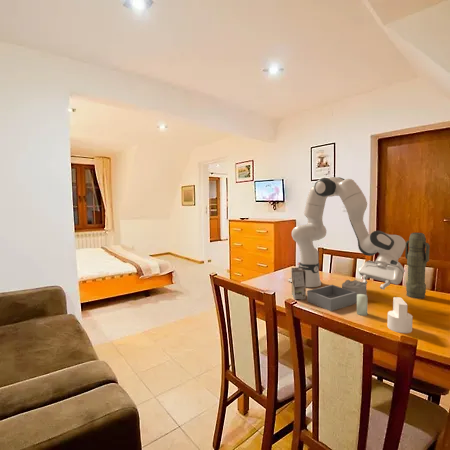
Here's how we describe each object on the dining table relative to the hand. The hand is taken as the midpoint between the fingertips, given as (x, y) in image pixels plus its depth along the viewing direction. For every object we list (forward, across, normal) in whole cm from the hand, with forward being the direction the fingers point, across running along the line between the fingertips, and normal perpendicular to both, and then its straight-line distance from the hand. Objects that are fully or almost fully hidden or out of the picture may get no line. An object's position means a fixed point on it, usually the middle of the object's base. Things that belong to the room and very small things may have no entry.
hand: (372, 286), depth 140 cm
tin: (+14, 0, +3) cm, 14 cm away
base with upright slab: (+14, +18, +4) cm, 23 cm away
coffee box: (+20, -34, -3) cm, 40 cm away
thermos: (-18, 0, +35) cm, 40 cm away
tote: (+14, -18, +3) cm, 23 cm away
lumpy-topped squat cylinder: (+3, -18, +15) cm, 24 cm away
